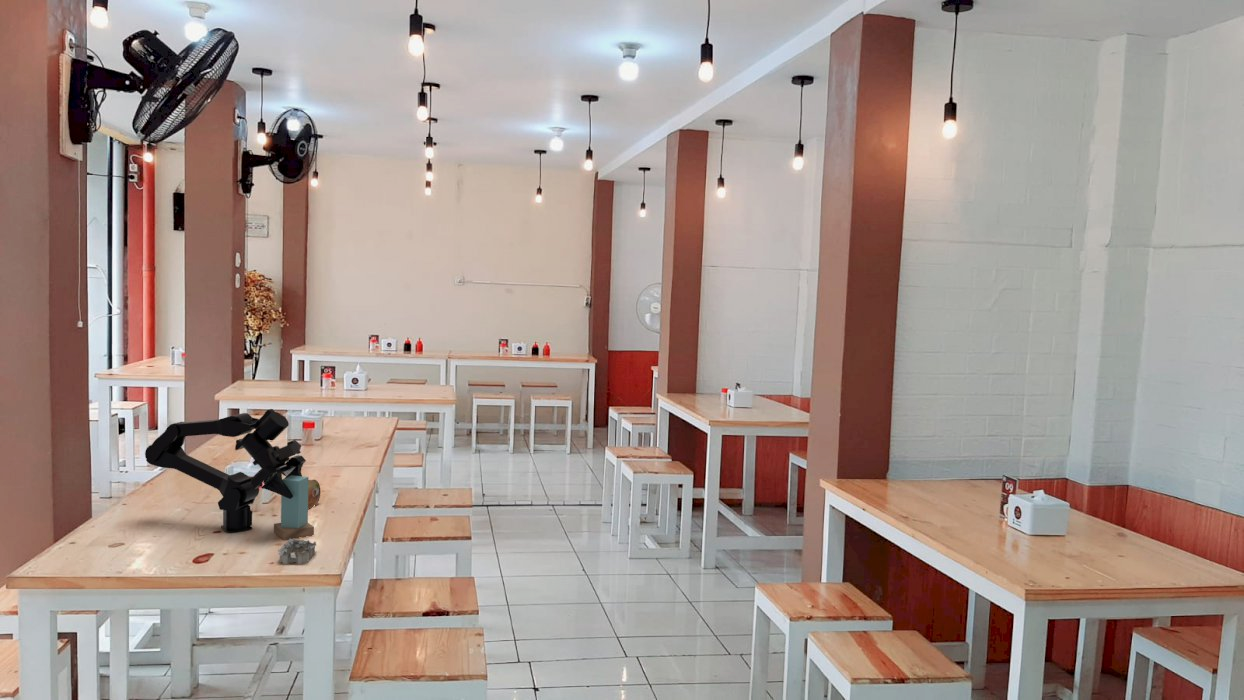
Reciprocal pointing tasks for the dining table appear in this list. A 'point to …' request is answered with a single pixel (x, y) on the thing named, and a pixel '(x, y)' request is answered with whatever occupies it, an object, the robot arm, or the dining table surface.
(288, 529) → the walnut plinth
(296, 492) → the teal block
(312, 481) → the tin
